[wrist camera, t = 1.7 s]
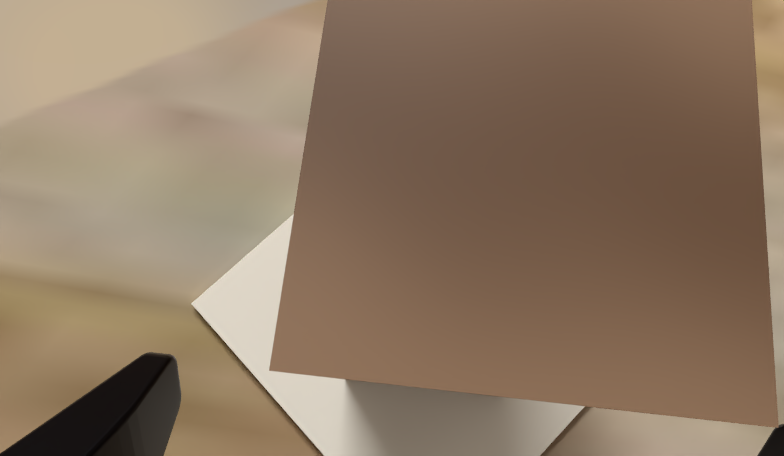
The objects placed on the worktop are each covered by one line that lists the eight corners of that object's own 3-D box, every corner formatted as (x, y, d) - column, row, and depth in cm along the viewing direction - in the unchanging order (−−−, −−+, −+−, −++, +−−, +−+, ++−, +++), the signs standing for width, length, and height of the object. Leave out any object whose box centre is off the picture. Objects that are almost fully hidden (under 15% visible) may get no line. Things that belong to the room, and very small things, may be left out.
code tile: (663, 315, 19) (668, 314, 19) (429, 573, 17) (430, 577, 17) (431, 97, 21) (431, 92, 21) (194, 304, 19) (191, 303, 19)
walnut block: (503, 397, 18) (779, 428, 6) (344, 379, 18) (268, 370, 6) (511, 243, 19) (750, -10, 7) (364, 227, 20) (336, -55, 7)
